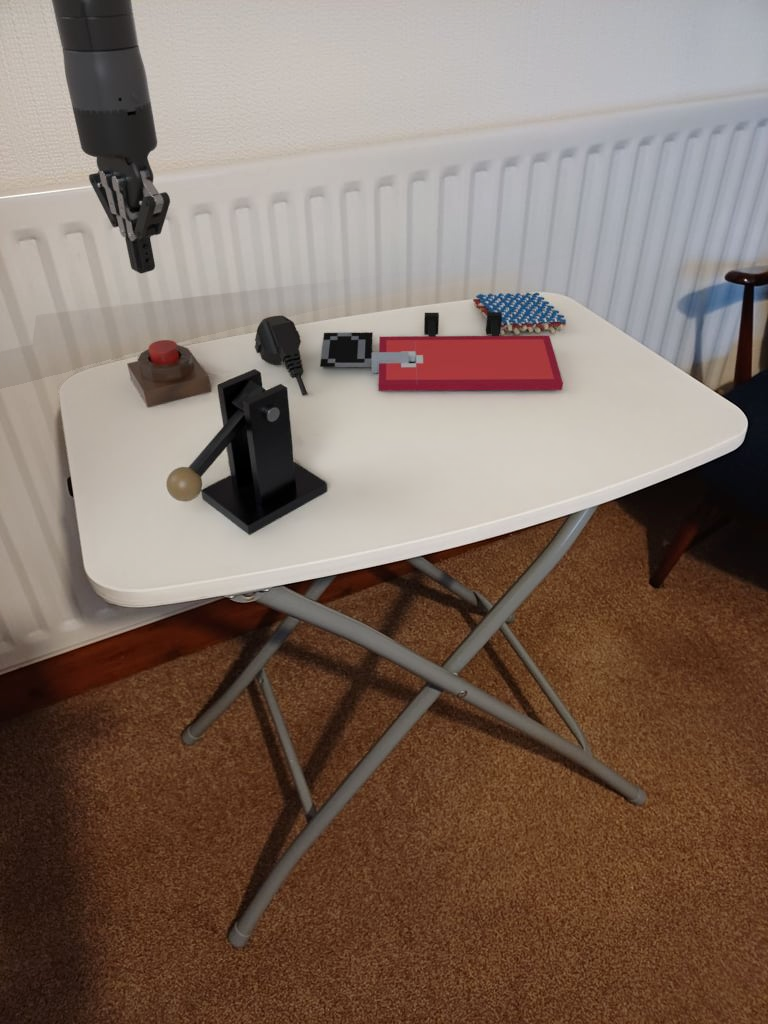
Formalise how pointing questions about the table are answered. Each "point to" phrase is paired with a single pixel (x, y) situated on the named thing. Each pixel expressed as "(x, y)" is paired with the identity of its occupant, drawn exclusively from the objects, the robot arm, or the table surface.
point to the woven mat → (521, 312)
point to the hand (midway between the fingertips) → (143, 270)
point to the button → (163, 352)
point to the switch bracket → (260, 460)
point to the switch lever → (210, 451)
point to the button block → (168, 378)
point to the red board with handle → (449, 359)
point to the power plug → (280, 346)
